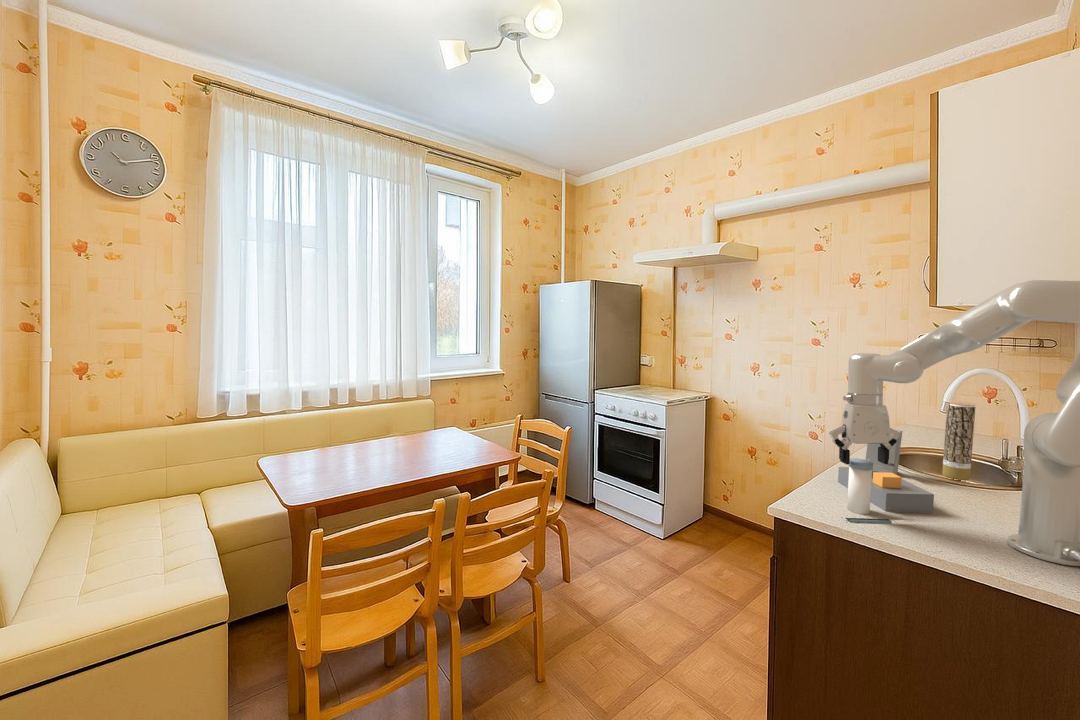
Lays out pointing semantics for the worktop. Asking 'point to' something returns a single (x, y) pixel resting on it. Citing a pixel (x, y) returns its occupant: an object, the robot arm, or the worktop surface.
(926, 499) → the housing
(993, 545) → the worktop surface
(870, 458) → the skincare box
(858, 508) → the cartridge
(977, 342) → the robot arm
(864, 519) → the thin grey strip
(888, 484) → the release slider
